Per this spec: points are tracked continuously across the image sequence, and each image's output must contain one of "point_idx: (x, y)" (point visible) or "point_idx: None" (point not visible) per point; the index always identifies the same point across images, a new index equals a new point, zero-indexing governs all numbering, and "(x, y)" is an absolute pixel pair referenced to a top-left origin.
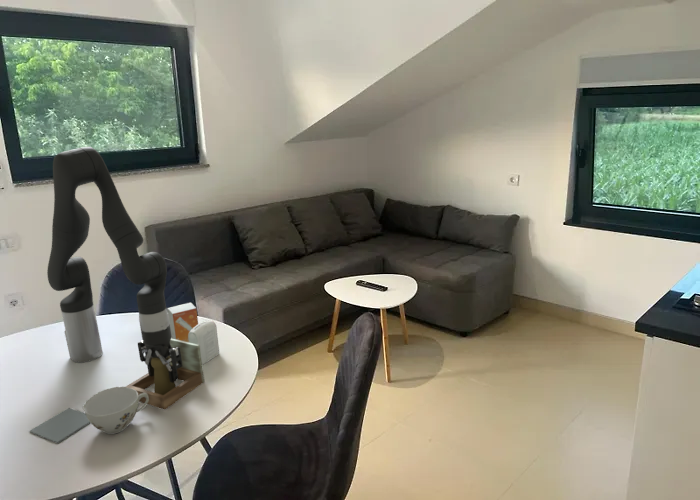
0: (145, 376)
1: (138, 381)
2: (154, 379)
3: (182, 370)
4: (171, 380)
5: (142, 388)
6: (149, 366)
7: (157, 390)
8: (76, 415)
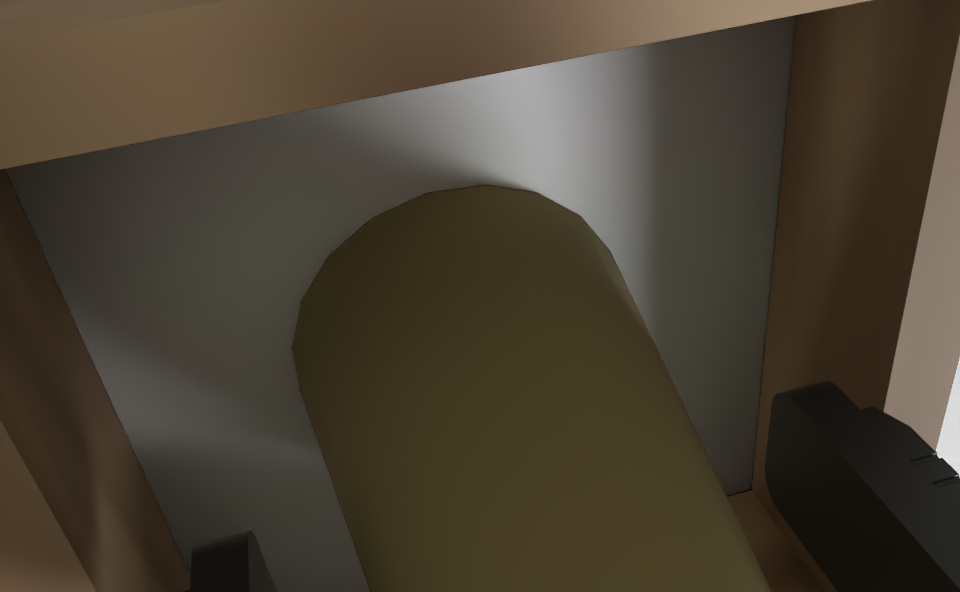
0: (917, 329)
1: (933, 164)
2: (618, 383)
3: None
4: (193, 583)
5: (810, 148)
6: (942, 572)
7: (462, 252)
8: None
